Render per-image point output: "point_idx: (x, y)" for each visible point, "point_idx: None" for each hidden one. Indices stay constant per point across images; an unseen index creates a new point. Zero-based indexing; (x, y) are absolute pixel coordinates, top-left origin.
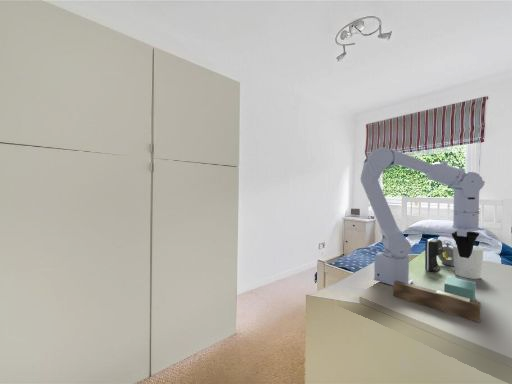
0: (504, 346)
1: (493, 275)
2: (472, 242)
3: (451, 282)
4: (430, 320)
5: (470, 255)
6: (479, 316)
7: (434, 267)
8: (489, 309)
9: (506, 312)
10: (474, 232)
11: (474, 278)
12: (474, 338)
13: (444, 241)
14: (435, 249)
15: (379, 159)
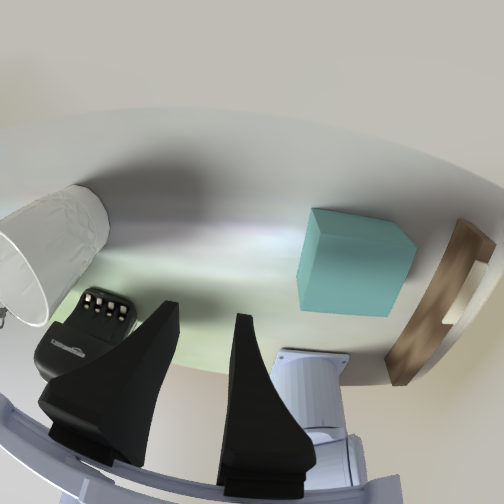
0: None
1: (32, 154)
2: (291, 414)
3: (368, 302)
4: (478, 297)
5: (178, 304)
6: (479, 230)
7: (116, 310)
8: (394, 184)
9: (392, 143)
10: (68, 424)
11: (100, 201)
12: None
13: (1, 327)
14: None
15: None
